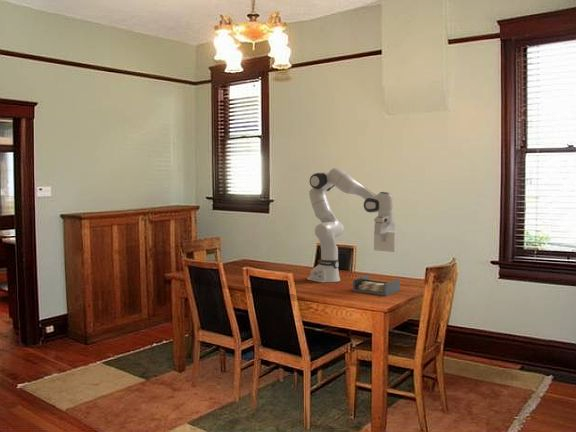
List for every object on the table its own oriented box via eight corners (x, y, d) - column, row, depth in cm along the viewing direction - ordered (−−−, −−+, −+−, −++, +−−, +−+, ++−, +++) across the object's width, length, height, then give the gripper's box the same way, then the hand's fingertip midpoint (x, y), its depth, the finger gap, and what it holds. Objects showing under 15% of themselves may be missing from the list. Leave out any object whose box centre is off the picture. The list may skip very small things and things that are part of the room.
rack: (352, 291, 324) (353, 279, 324) (367, 286, 338) (367, 275, 338) (386, 296, 311) (386, 284, 310) (400, 290, 325) (400, 279, 325)
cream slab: (373, 250, 336) (374, 230, 335) (376, 249, 338) (376, 230, 337) (394, 252, 327) (394, 232, 326) (396, 251, 329) (396, 232, 328)
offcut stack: (358, 288, 324) (358, 282, 323) (363, 287, 328) (363, 280, 328) (382, 292, 314) (382, 285, 314) (387, 290, 318) (387, 284, 318)
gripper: (388, 217, 341) (388, 239, 342) (372, 219, 325) (372, 242, 326) (397, 217, 337) (397, 239, 338) (382, 219, 321) (381, 243, 322)
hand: (385, 241), depth 332 cm, fingers closed on cream slab, 3 cm apart
